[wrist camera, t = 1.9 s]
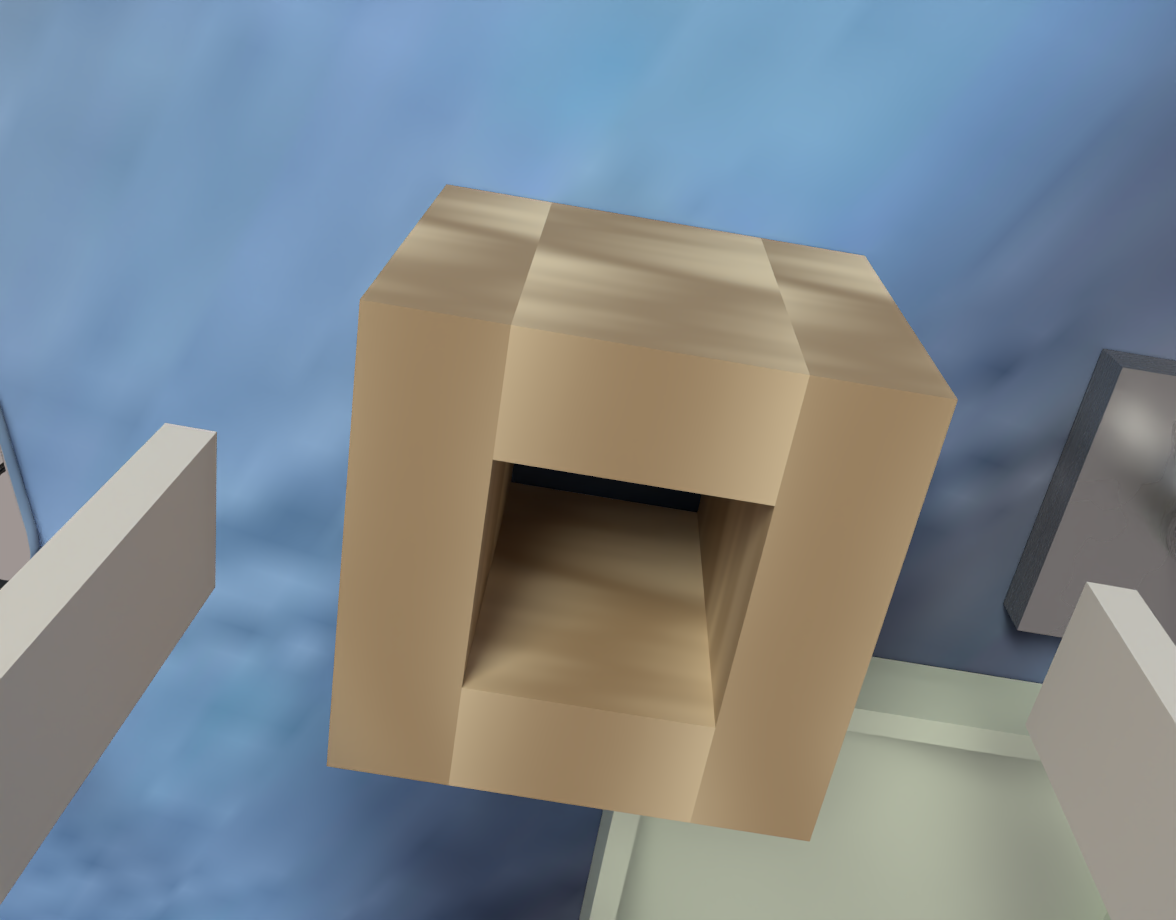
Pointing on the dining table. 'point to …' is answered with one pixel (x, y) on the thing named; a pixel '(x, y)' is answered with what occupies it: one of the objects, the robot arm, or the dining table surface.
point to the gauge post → (1107, 501)
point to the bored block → (623, 511)
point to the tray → (878, 825)
